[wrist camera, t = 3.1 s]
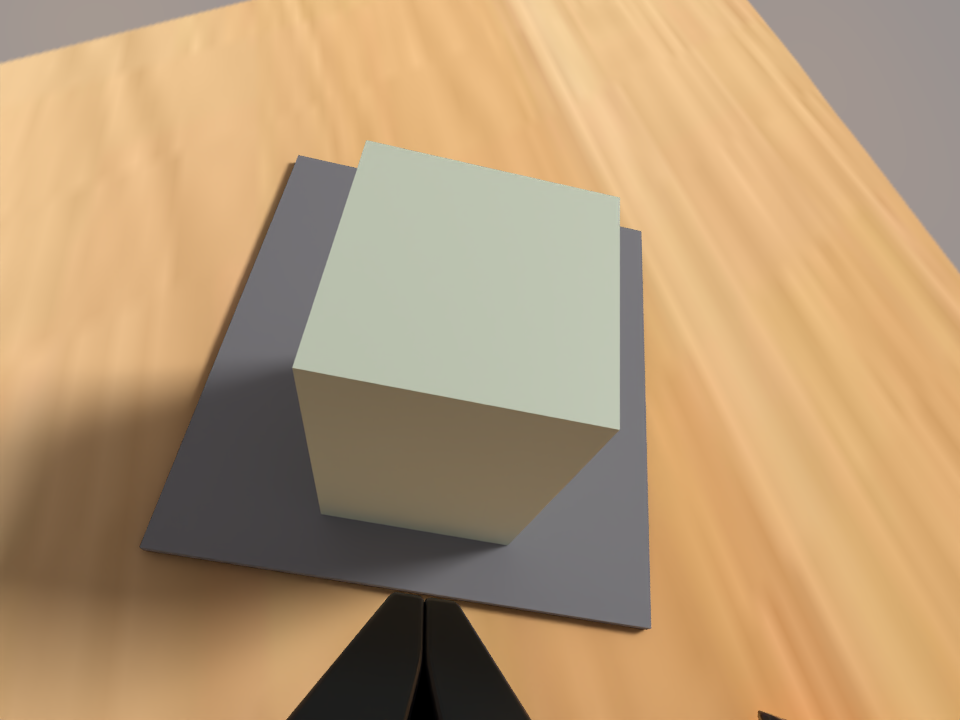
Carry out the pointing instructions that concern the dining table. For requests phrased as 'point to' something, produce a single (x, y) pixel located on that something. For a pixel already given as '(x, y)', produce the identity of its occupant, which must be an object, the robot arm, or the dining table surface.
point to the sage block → (460, 346)
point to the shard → (767, 716)
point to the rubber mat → (370, 546)
